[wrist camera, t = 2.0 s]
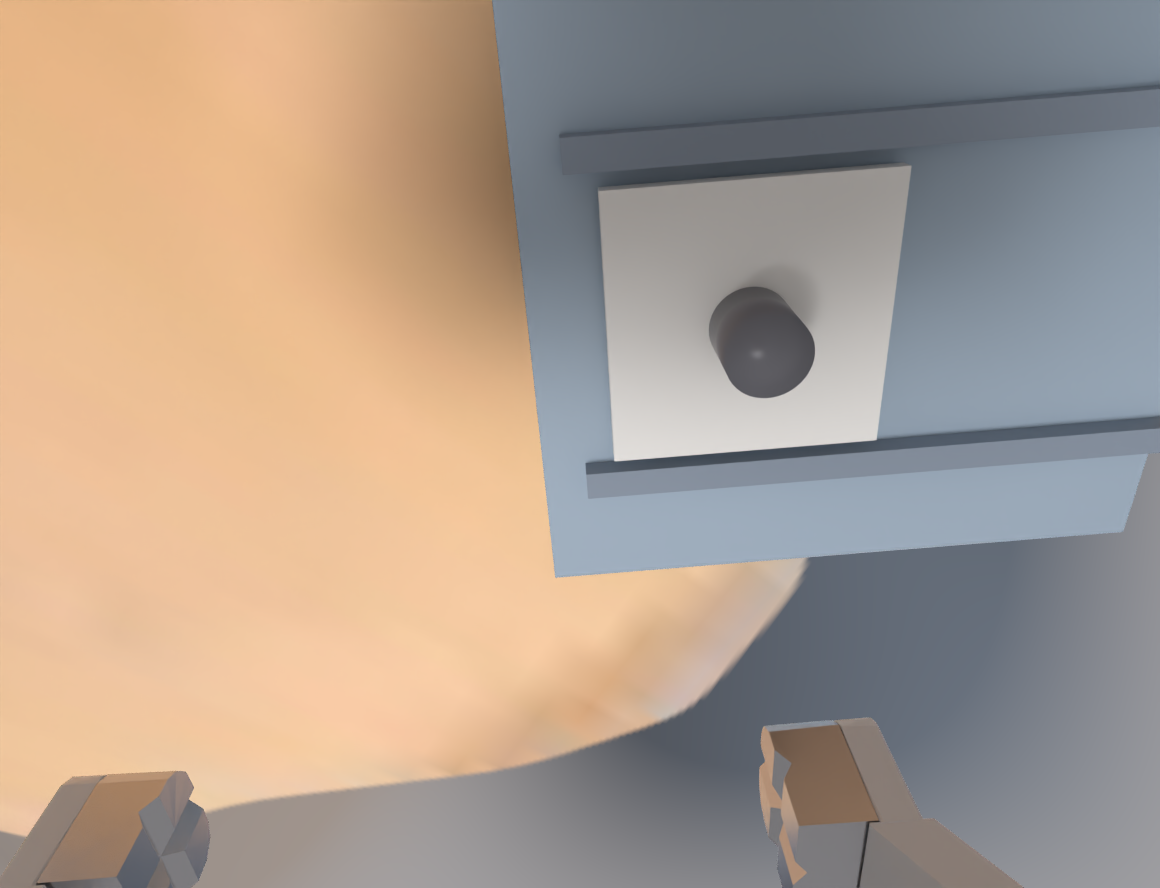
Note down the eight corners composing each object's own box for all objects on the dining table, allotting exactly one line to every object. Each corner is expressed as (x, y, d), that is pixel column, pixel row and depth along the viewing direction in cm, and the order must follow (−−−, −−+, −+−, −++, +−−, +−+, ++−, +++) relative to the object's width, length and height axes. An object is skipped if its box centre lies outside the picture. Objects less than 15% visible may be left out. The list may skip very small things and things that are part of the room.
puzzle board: (495, -20, 23) (487, -25, 20) (1249, -82, 23) (1351, -96, 20) (554, 539, 32) (555, 590, 30) (1084, 496, 32) (1136, 543, 30)
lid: (597, 187, 23) (604, 210, 20) (903, 162, 23) (951, 182, 20) (613, 452, 27) (620, 501, 25) (870, 431, 27) (906, 478, 25)
